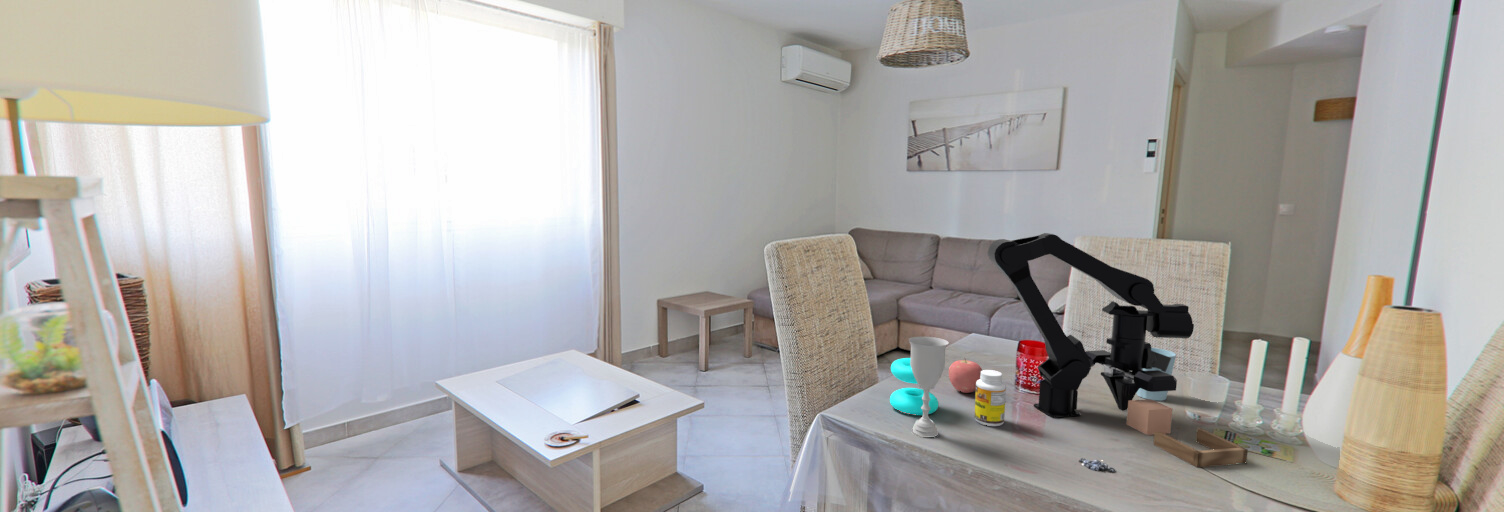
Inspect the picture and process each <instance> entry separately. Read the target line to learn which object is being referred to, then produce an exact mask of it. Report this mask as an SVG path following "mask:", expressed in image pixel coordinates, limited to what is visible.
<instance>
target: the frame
mask: <svg viewBox="0 0 1504 512" xmlns="http://www.w3.org/2000/svg"><path fill="white" fill-rule="evenodd" d="M1196 441H1197V442H1196ZM1195 442H1196V443H1198V442H1199V443H1198V444H1199V445H1203V446H1204V445H1205V446H1204V447H1206V446H1207V447H1206V448H1208V447H1209V449H1206V450H1198V449H1196V448H1194V447H1191V446H1190V445H1188V444H1185V443H1184V442H1181V441H1179V440H1177V439H1176V438H1174V437H1171V436H1169V435H1168V434H1163V433H1161V432H1159V431H1155V434H1153V445H1154V446H1156V447H1158V448H1159V449H1161V450H1164V451H1166V453H1168V454H1171V455H1173V456H1175V457H1177V458H1178V459H1181V460H1182V461H1184V462H1186V463H1188V464H1190V465H1192V467H1193V466H1194V467H1196V468H1205V467H1206V468H1207V467H1217V466H1218V467H1219V466H1229V465H1228V464H1233V465H1237V464H1236V463H1245V462H1246V463H1247V461H1248V451H1249V449H1248V448H1246V447H1243V446H1241V445H1239V444H1236V443H1235V442H1232V441H1230V440H1227V439H1226V438H1223V437H1221V436H1218V435H1216V434H1214V433H1212V432H1210V431H1207V430H1206V429H1203V428H1201V427H1199V428H1196V438H1195ZM1210 448H1211V449H1210ZM1213 449H1214V450H1213Z"/></svg>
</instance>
